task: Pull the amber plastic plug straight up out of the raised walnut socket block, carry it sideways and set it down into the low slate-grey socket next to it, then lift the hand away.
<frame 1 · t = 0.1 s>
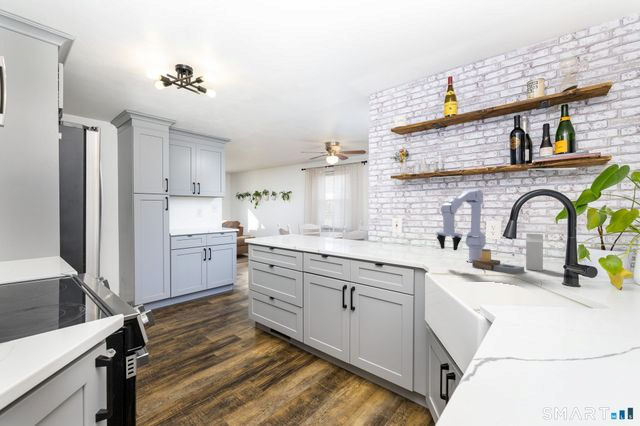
hand: (448, 249, 161), 10 cm above the countertop, fingers open, 7 cm apart
milk carton: (534, 269, 155), on the countertop
lower jack: (508, 271, 151), on the countertop
plug: (486, 263, 161), point 2 cm above the countertop, touching upper jack
upper jack: (486, 267, 161), on the countertop
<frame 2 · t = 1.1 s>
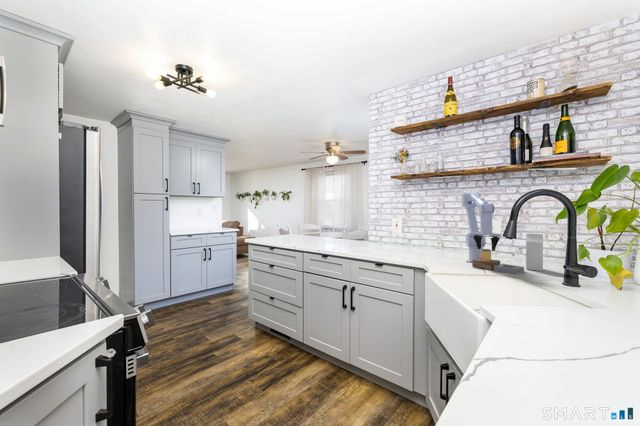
hand: (486, 249, 161), 10 cm above the countertop, fingers open, 7 cm apart
nothing on the countertop moved.
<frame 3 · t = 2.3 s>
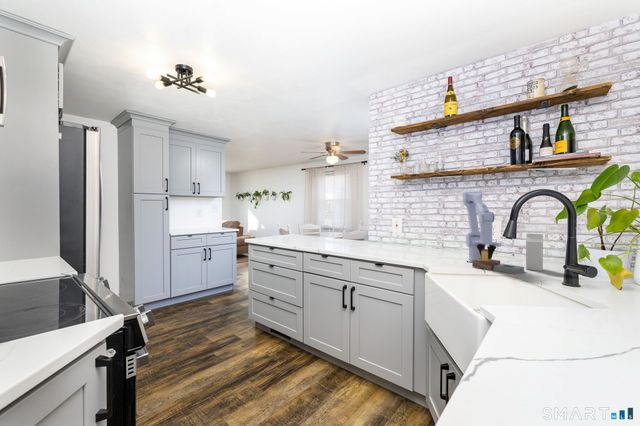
hand: (486, 258, 161), 5 cm above the countertop, fingers closed on plug, 3 cm apart
plug: (486, 263, 161), point 2 cm above the countertop, touching gripper, upper jack
everything else where it was.
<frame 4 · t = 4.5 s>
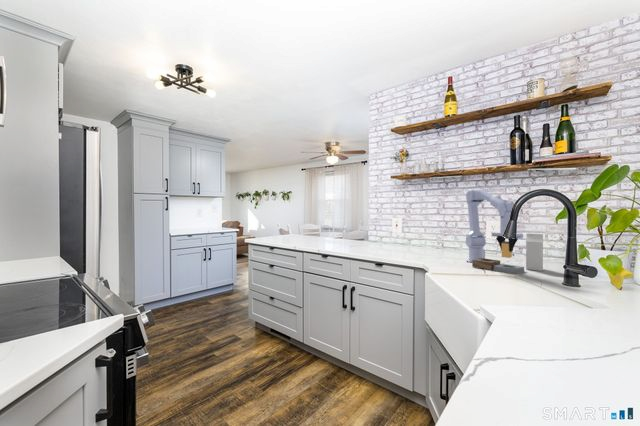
hand: (506, 251, 152), 10 cm above the countertop, fingers closed on plug, 3 cm apart
plug: (506, 257, 152), point 7 cm above the countertop, touching gripper
everything else where it was.
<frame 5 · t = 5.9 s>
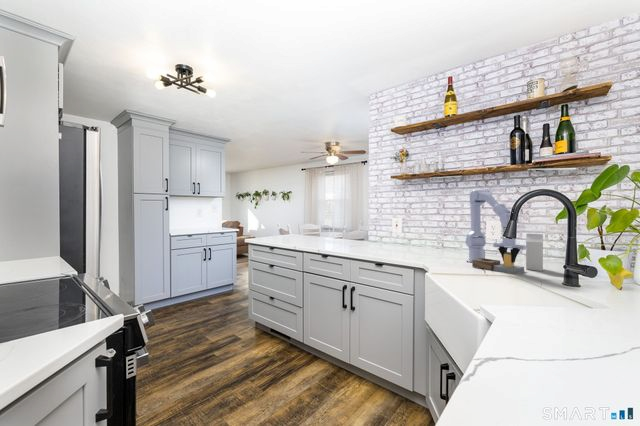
hand: (508, 262, 151), 5 cm above the countertop, fingers closed on plug, 3 cm apart
plug: (508, 267, 151), point 2 cm above the countertop, touching gripper
everything else where it was.
when the fingers open (4 cm above the countertop, at t = 6.9 s): plug stays where it is, resting in lower jack.
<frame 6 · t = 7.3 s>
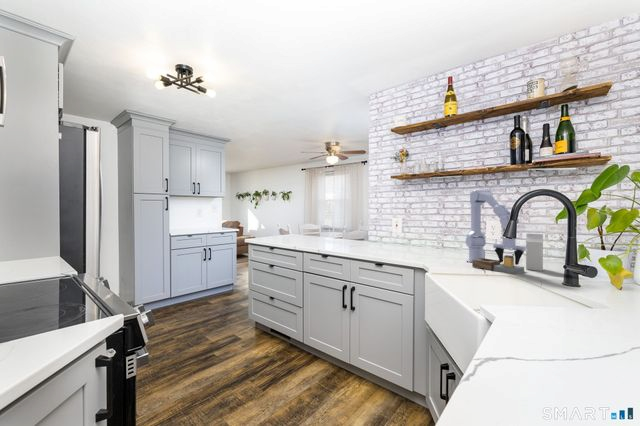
hand: (508, 263, 151), 4 cm above the countertop, fingers open, 7 cm apart
plug: (508, 271, 151), resting in lower jack
everything else where it was.
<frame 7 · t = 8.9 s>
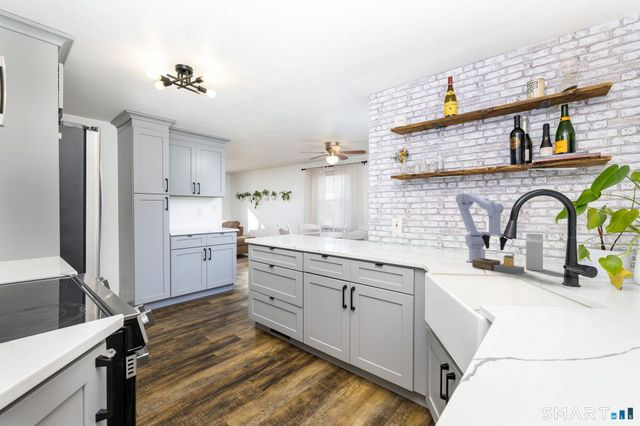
hand: (494, 249, 162), 10 cm above the countertop, fingers open, 7 cm apart
nothing on the countertop moved.
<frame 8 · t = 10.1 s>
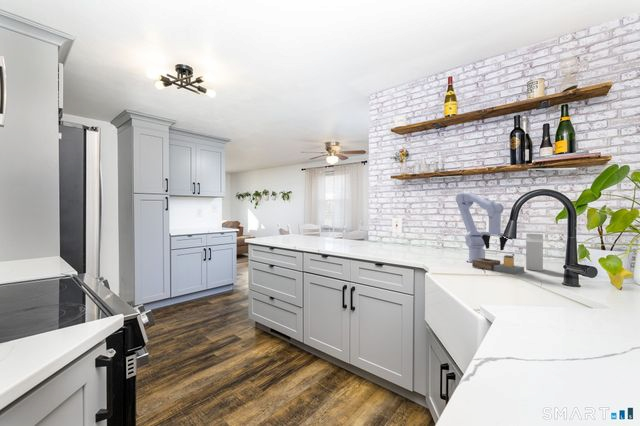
hand: (494, 249, 162), 10 cm above the countertop, fingers open, 7 cm apart
nothing on the countertop moved.
at the end: plug 0.1 cm off-centre on the lower jack, point 0.0 cm above the lower jack's base; plug tilted 0°; the gripper is holding nothing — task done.
